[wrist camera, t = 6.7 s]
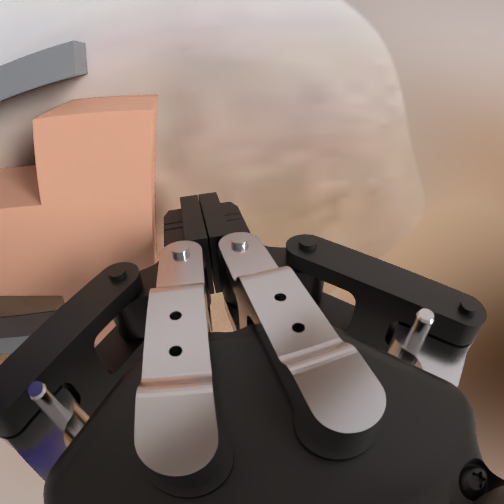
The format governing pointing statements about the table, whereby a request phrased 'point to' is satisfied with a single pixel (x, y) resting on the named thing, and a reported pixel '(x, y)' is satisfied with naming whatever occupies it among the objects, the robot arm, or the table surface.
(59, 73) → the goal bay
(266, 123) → the table surface
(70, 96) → the table surface
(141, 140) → the t block
